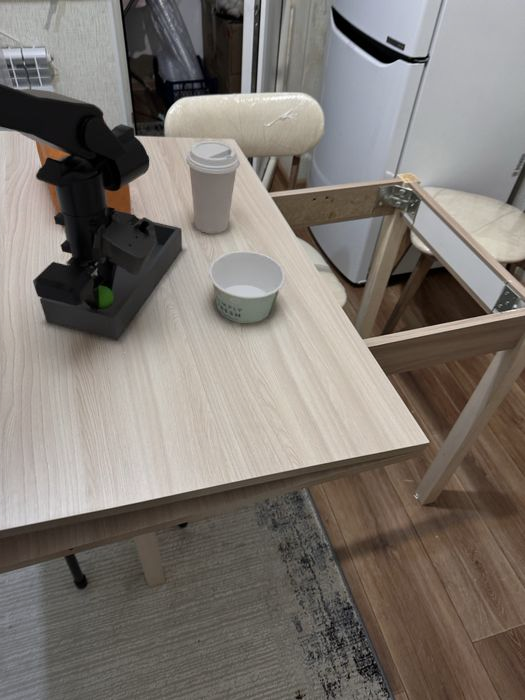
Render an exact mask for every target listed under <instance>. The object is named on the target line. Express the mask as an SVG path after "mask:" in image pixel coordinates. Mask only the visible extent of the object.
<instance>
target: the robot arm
mask: <svg viewBox="0 0 525 700" xmlns="http://www.w3.org/2000/svg"><path fill="white" fill-rule="evenodd" d="M104 121H105V119H104V112H103V110H102V108H100V107H99V106H97V105H96V104H93V103H90V102H87V101H83V100H81V99H78V98H73V97H71V96H67V95H64V94H60V93H57V92H54V91H50V90H43V89H34V88H24V89H22V88H21V89H19V88H13V87H11V86H8V85H5V84H2V83H0V128H3V129H7V130H11V131H16V132H17V133H19V134H20V135H22V136H24V137H26V138H28V139H30V140H31V141H34V142H35V143H36V142H38V143H40V144H42V145H45V146H48V147H51V148H54V149H57V150H60V151H62V152H65V153H68V154H69V155H66V156H64V157H62V158H60V159H58V160H55V159H52V158H49V157H48V158H46V161H45V163H44V165H43V166H42V165H41V167H39V169H38V171H37V172H36V174H35V178H36V180H37V181H41V182H43V183H46V184H47V183H48V184H51V185H54V186H55V189H56V194H57V198H58V203H59V207H60V212H59V213H58V214H57V213H56V214H55V215H54V216H53V217H54V218H53V219H54V223H55V225H59V226H61V227H63V229H64V234H65V238H66V239H65V240H64V241H63V242H62V243H61V244H60V248H61V252H63V253H65V254H66V253H67V254H71V257H70V258H69V259H68V260H67V261H66V264H65V263H59V262H56V261H52V262H50V264H48V265H47V266H46V267H45V268H44V269H43V270H42V271H41V272H40V273H39V274H38V275H37V276H36V277H35V278H34V279H33V280H32V284H33V287H34V290H35V293H36V295H37V297H38V298H41V297H43V298H46V299H50V300H54V301H58V302H62V303H66V304H70V305H74V306H77V305H80V304H82V303H83V302H84V301H85V303H86V304H87V305H88V306H89V307H90V308H91V309H95V310H98V309H99V288H98V287H99V286H106V287H108V288H109V289H110V290H111V291H112V287H113V282H114V277H115V272H116V268H117V265H118V266H120V267H122V268H123V269H125V270H126V271H127V272H128V273H130V274H139V273H140V272H141V270H142V269H143V267H144V266H145V265H146V263H147V262H148V261H149V259H150V256H151V254H152V251H153V248H154V247H155V246H156V244H157V240H156V238H157V237H156V236H155V228H154V223H153V222H154V221H152V220H151V219H149V218H147V217H142V218H139V219H141V220H139V219H138V217H137V216H136V215H135V214H132V213H131V214H129V213H124V212H120V211H116V210H115V208H111V207H108V204H107V198H106V191H105V189H106V190H109V191H117V190H119V189H120V188H122V187H124V186H125V185H127V184H129V185H130V183H132V182H133V181H135V180H137V179H138V178H140V177H141V176H143V175H145V174H146V173H147V172H148V170H149V168H150V156H149V154H148V153H147V150H146V148H145V146H144V144H143V143H142V142H141V141H140V139H138V138H137V137H136V135H135V128H134V127H132V126H128V125H125V124H123V123H120V124H118V125H116V126H115V127H113V128H112V129H111V128H110V127H109V126H108V124H107V122H106V121H105V122H106V123H105V122H104ZM106 124H107V125H106Z"/></svg>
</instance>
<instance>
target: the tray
mask: <svg viewBox="0 0 525 700" xmlns="http://www.w3.org/2000/svg"><path fill="white" fill-rule="evenodd" d="M137 218H138V217H137ZM138 219H139V220H141V219H142V218H140V217H139V218H138ZM152 222H153V223H154V228H155V236H156V237H157V238H156V240H157V244H156V246H155V247H154V248H153V251H152V254H151V256H150V259H149V261H148V262H147V263H146V265H145V266H144V267H143V269H142V270H141V272H140V273H139V274H130V273H128V272H127V271H126V270H125V269H123V268H122V267H120V266H118V265H117V268H116V272H115V277H114V282H113V287H112V293H113V296H114V300H113V303H112V305H111V306H110V307H109V308H107V309H102V310H101V309H98V310H95V309H91V308H90V307H89V306H88V305H87V304H86V303H85V301H84V302H83V303H82V304H80V305H77V306H74V305H70V304H66V303H62V302H58V301H54V300H50V299H46V298H43V297H39V301H40V305H41V308H42V311H43V315H44V318H45V322H46V323H48V324H52V325H56V326H61V327H64V328H68V329H72V330H75V331H78V332H83V333H87V334H90V335H94V336H98V337H101V338H106V339H109V340H113V341H117V342H119V340H120V339H121V337H122V336H123V334H124V333H125V332H126V330H127V329H128V327H129V326H130V325H131V323H132V321H134V319H135V317H136V316H137V314H138V313H139V311H140V310H141V309H142V307H143V305H145V304H146V301H147V300H148V299H149V297H150V295H152V293H153V291H154V290H155V289H156V287H157V286H158V285H159V283H160V282H161V281H162V280H163V277H164V276H165V275H166V273H167V272H168V271H169V269H170V267H171V266H172V265H173V263H174V261H175V260H176V259H177V257H178V256H179V255H180V253H181V252H182V251H183V242H182V241H183V239H182V238H183V237H182V228H181V227H177V226H173V225H169V224H165V223H160V222H156V221H152Z"/></svg>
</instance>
